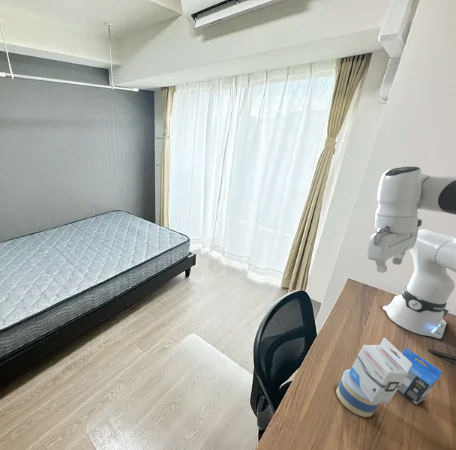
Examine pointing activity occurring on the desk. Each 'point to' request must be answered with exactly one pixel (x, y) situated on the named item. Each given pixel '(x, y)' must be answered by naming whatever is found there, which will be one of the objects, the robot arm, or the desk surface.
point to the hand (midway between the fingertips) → (389, 267)
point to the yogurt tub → (354, 397)
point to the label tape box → (418, 378)
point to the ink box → (380, 371)
